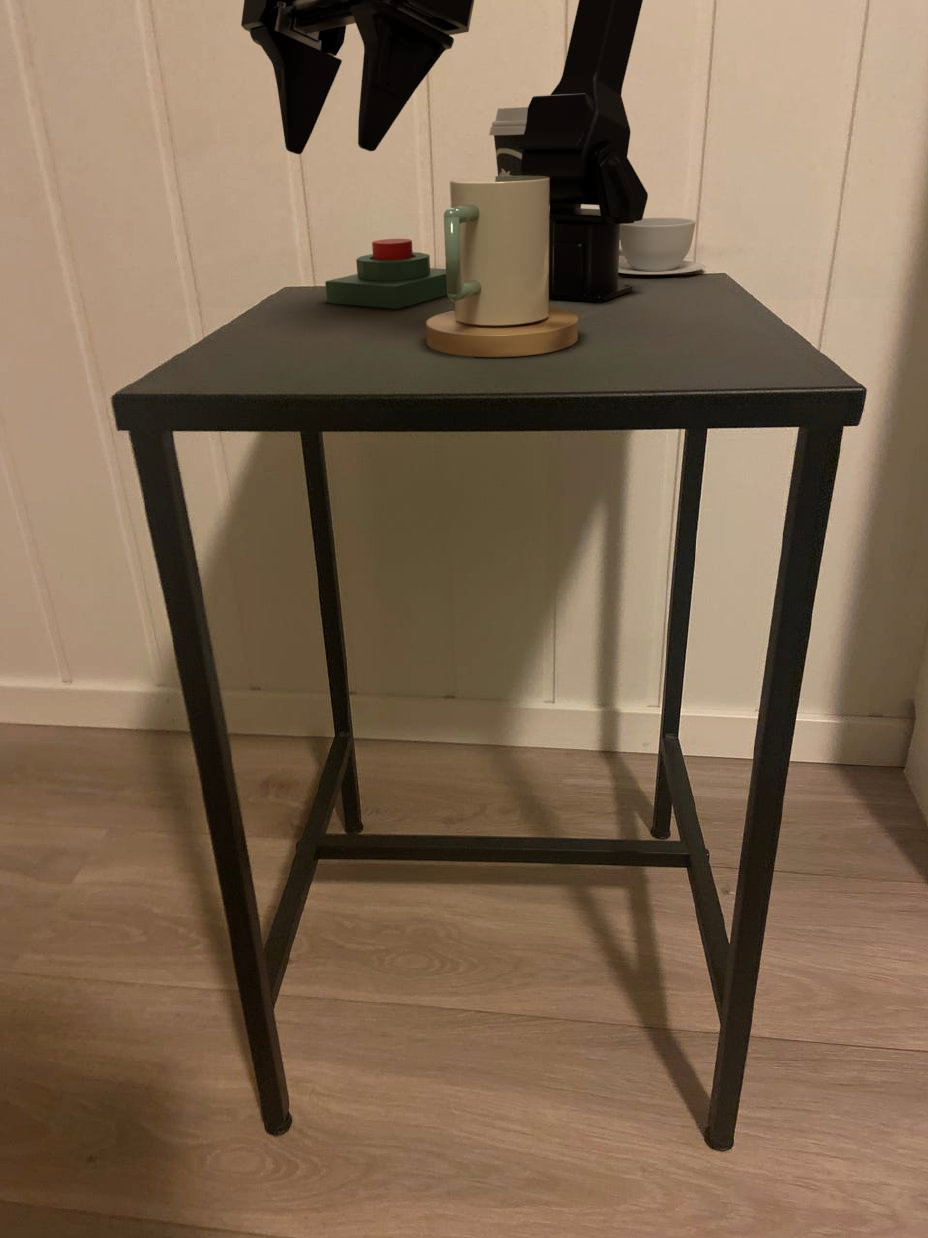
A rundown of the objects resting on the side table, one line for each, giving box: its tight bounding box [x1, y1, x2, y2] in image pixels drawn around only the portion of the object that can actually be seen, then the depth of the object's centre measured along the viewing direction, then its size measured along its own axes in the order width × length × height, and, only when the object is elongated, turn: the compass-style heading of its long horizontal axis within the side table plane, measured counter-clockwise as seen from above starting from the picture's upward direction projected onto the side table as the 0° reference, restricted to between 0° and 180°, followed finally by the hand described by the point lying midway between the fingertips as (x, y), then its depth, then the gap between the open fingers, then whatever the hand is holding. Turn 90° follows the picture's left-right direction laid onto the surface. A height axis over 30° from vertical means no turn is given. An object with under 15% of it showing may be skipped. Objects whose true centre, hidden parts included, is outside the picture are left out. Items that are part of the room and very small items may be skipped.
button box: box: [325, 251, 447, 310], centre depth 86 cm, size 10×8×4 cm
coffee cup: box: [488, 106, 582, 286], centre depth 88 cm, size 10×10×15 cm
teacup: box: [618, 217, 706, 276], centre depth 93 cm, size 10×10×5 cm
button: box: [371, 238, 413, 260], centre depth 85 cm, size 4×4×2 cm
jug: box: [443, 175, 550, 326], centre depth 65 cm, size 11×7×9 cm, turn 146°
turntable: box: [425, 307, 579, 359], centre depth 68 cm, size 11×11×2 cm
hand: (327, 150), depth 62 cm, fingers open, 9 cm apart
